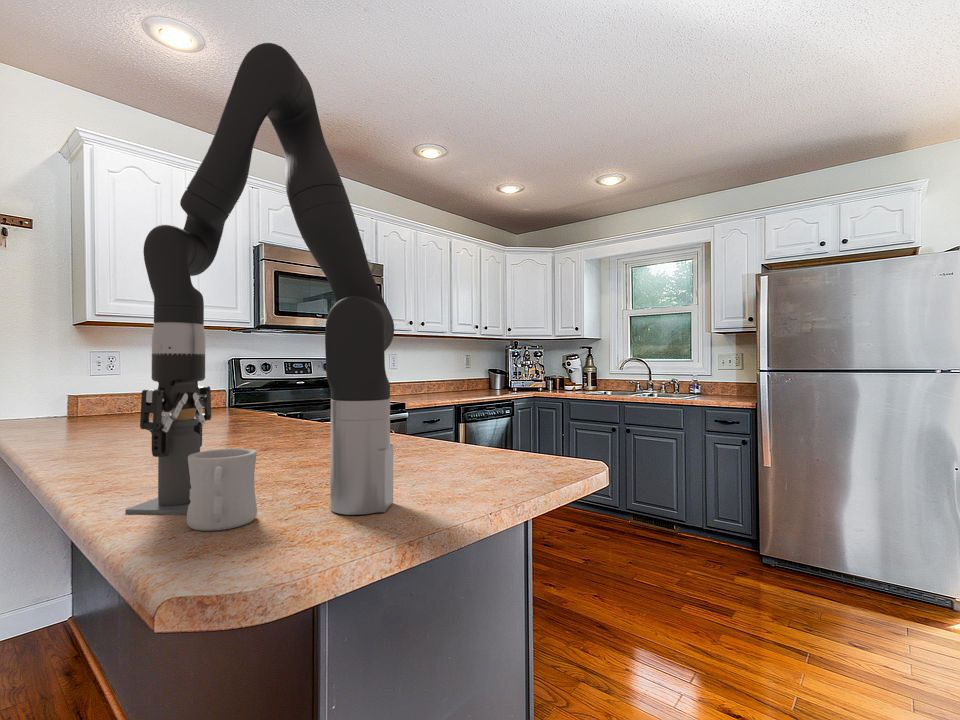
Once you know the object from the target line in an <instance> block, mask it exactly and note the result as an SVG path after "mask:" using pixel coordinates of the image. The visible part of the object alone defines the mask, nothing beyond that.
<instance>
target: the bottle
mask: <svg viewBox="0 0 960 720" xmlns="http://www.w3.org/2000/svg"><path fill="white" fill-rule="evenodd" d="M162 412H164V410H163V411H162ZM195 412H196V408H187V409H181V411H180V413H179V415H178V417H177V419H176V420H174V421H173V422H172V424H171V426H170V428H169V430H168V432H169V455H168V456H165V457H157V459H158V463H157V465H158V467H157V472H158V473H157V474H158V475H157V483H158V484H157V497H158V503H159V504H160V505H167V506H171V505H182V504H188V503H189V497H190V473H189V465H188V456H189V455H190V454H193V453H197V452H201V447H200V435H199V434H198V433H197V432H194V426H195V425H197V424H198V420H197V419H195V418H194V417H195ZM163 422H164V420H162V421H161V423H162V424H163Z"/></svg>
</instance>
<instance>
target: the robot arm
mask: <svg viewBox="0 0 960 720" xmlns="http://www.w3.org/2000/svg"><path fill="white" fill-rule="evenodd" d="M317 108H318V107H317V104H316V100H315V96H314V92H313V88H312V86H311V84H310V81H309V80H308V78H307V76H306V75H305V73H304V72H303V71H302V69H301V68H300V67H299V64H297V62H296V60H295V59H294V58H293V56H292V55H291V54H290V53H289V52H288V50H287V49H285V48H284V47H282V46H280V45H278V44H276V43H272V42H262V43H259V44H257V45H255V46H254V47H252V48H250V50H249V51H248V52H246V54H245V56H244V57H243V59H242V61H241V62H240V65H239V67H238V70H237V72H236V75H235V78H234V80H233V83H232V86H231V89H230V92H229V95H228V97H227V100H226V103H225V105H224V108H223V111H222V114H221V116H220V119H219V122H218V125H217V127H216V130H215V133H214V135H213V138H212V140H211V142H210V145H209V147H208V149H207V151H206V153H205V155H204V156H203V159H202V161H201V162H200V165H199V166H198V168H197V169H196V171H195V173H194V175H193V177H192V178H191V179H190V181H189V184H188V185H187V187H186V189H185V190H184V192H183V194H182V196H181V198H180V201H179V202H180V205H179V206H180V207H181V209H182V210H183V212H184V213H186V220H185V224H184V227H183V228H181V227H178V226H176V225H173V224H160V225H157V226H155V227H153V228H152V229H151V230H150V231H149V232H148V233H147V235H146V237H145V239H144V243H143V252H142V253H143V260H144V266H145V269H146V274H147V277H148V281H149V285H150V288H151V291H152V294H153V299H154V301H153V329H152V333H151V380H152V381H153V382H156V383H158V386H157V388H156V389H155V388H154V389H153V388H152V389H146V388H145V389H143V390H142V391H141V399H140V400H141V402H140V417H139V418H140V420H139V422H140V423H139V427H140V429H141V430H146V431H148V432H149V433H151V434H150V435H151V453H152V457H155V458H156V457H157V458H158V457H165V456H168V455H169V432H168V430H169V428H170V426H171V424H172V422H173V421H174V420H176V419H177V417H178V415H179V413H180V411H181V409H187V408H196V412H195V417H194V418H195V419H197V420H198V424H197V425H195V426H194V432H197V433H198V434H199V435H200V448H202V446H203V426H204V425H205V424H206V421H211V419H212V393H211V387H210V386H205V385H202V386H201V385H199V383H198V382H202V381H204V380H205V379H206V335H205V326H204V324H205V323H204V321H205V319H204V318H205V317H204V315H205V314H204V313H205V312H204V311H205V309H204V308H205V303H204V296H203V293H201V292H200V291H199V290H197V288H196V287H195V286H194V285H193V283H192V278H191V277H193V276H194V277H195V276H198V275H201V274H202V273H204V272H206V270H207V269H209V268H210V266H211V265H212V264H213V262H214V261H215V258H216V256H217V253H218V251H219V246H220V243H221V240H222V236H223V232H224V228H225V223H226V221H227V219H228V218H229V217H230V215H231V213H232V212H233V210H234V208H235V207H236V205H237V203H238V201H239V200H240V198H241V196H242V194H243V192H244V190H245V187H246V185H247V181H248V177H249V173H250V168H251V167H250V166H251V161H252V154H253V149H254V144H255V143H256V142H255V141H256V139H257V138H256V137H257V136H258V133H259V131H260V129H261V126H262V124H263V122H264V120H265V119H266V118H268V120H269V121H270V124H271V126H272V128H273V130H274V132H275V134H276V137H277V138H278V141H279V143H280V145H281V146H280V147H281V149H282V151H283V154H284V160H285V161H284V162H285V172H284V173H285V174H284V177H285V179H284V180H285V191H286V195H287V200H288V203H289V206H290V209H291V212H292V214H293V217H294V218H293V219H294V220H295V225H296V226H297V228H298V231H299V233H300V236H301V238H302V240H303V241H304V243H305V245H306V247H307V248H308V250H309V251H310V253H311V255H312V257H313V259H314V260H315V261H316V263H317V265H318V267H320V269H321V271H322V272H323V274H324V275H325V278H326V279H327V281H328V283H329V284H328V285H329V286H330V288H331V289H330V290H331V292H332V295H333V299H334V301H335V304H333V306H332V307H331V308H330V310H329V312H328V314H327V316H326V321H325V328H324V329H325V331H324V338H325V339H324V344H325V345H324V350H325V374H326V375H325V376H326V379H327V380H326V381H327V382H328V386H329V389H330V493H329V494H330V495H329V499H330V510H331V512H333V513H336V514H340V515H346V516H347V515H349V516H350V515H352V516H355V515H359V516H360V515H369V514H374V513H385V512H386V511H387V510H388V509H389V508H390V507H391V505H392V504H393V503H394V445H393V444H392V443H391V384H390V381H389V379H388V376H387V372H386V364H385V361H386V360H385V356H386V355H385V351H386V350H387V349H388V348H389V347H390V346H391V344H392V342H393V339H394V336H395V334H394V333H395V323H394V319H393V316H392V315H391V314H392V313H391V312H390V309H389V308H388V306H387V304H386V301H385V300H384V298H383V295H382V293H381V292H380V289H379V287H378V285H377V282H376V281H375V278H374V276H373V273H372V271H371V267H370V265H369V262H368V258H367V255H366V254H367V253H366V250H365V247H364V243H363V239H362V238H361V237H362V236H361V234H360V231H359V227H358V225H357V221H356V218H355V214H354V212H353V208H352V205H351V203H350V199H349V197H348V194H347V191H346V188H345V185H344V183H343V180H342V178H341V176H340V173H339V171H338V168H337V166H336V163H335V160H334V158H333V156H332V154H331V152H330V150H329V148H328V145H327V142H326V140H325V137H324V133H323V130H322V126H321V122H320V117H319V113H318V109H317ZM203 408H204V409H203ZM163 410H164V412H163ZM203 411H204V413H203ZM150 413H151V416H152V419H151V421H150ZM162 420H164V422H163V424H162V423H161V421H162Z"/></svg>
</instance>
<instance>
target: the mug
mask: <svg viewBox="0 0 960 720" xmlns="http://www.w3.org/2000/svg"><path fill="white" fill-rule="evenodd" d="M257 452H258V451H256V450H255V449H249V448H221V449H220V448H219V449H210V450H209V449H208V450H203V451H200V452H197V453H193V454H190V455H189V456H188V465H189V473H190V497H189V504H188V511H187V514H186V525H187V526H188V527H189V528H190V529H191V530H195V531H200V532H202V531H204V532H206V531H207V532H209V531H210V532H213V531H223V530H228V529H234V528H238V527H242V526H246V525H247V524H249V523H251V522H252V521H254V520H255V519H256V517H257V515H258V508H257V498H256V491H255V490H256V488H255V483H256V482H255V472H256V461H257V455H258V453H257Z"/></svg>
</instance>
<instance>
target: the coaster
mask: <svg viewBox="0 0 960 720" xmlns="http://www.w3.org/2000/svg"><path fill="white" fill-rule="evenodd" d="M188 504H189V503H188ZM188 504H182V505H171V506H167V505H160V504H159V503H158V496H157V497H156V498H153V499H149V500H147V501H145V502H142V503H139V504H136V505H133V506H132V507H129V508H126V509H125V514H126V515H127V514H128V515H129V514H138V515H139V514H141V515H145V514H146V515H187V511H188Z"/></svg>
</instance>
